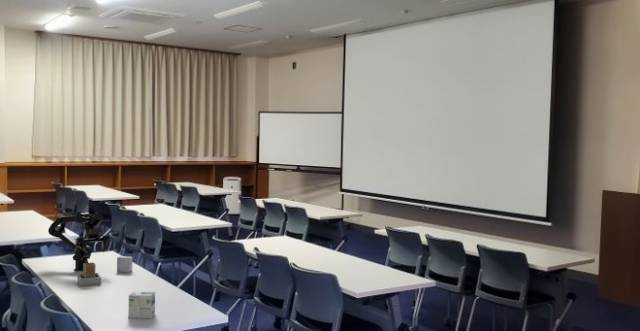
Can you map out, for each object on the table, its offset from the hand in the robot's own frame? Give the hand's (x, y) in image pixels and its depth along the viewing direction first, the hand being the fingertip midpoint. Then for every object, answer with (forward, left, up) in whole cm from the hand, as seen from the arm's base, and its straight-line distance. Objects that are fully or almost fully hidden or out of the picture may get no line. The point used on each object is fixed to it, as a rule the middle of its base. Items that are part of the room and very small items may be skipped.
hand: (95, 252), depth 329 cm
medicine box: (+11, +14, -14) cm, 23 cm away
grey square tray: (+5, -16, -14) cm, 22 cm away
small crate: (+5, -16, -13) cm, 21 cm away
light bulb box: (+57, -63, -14) cm, 86 cm away
